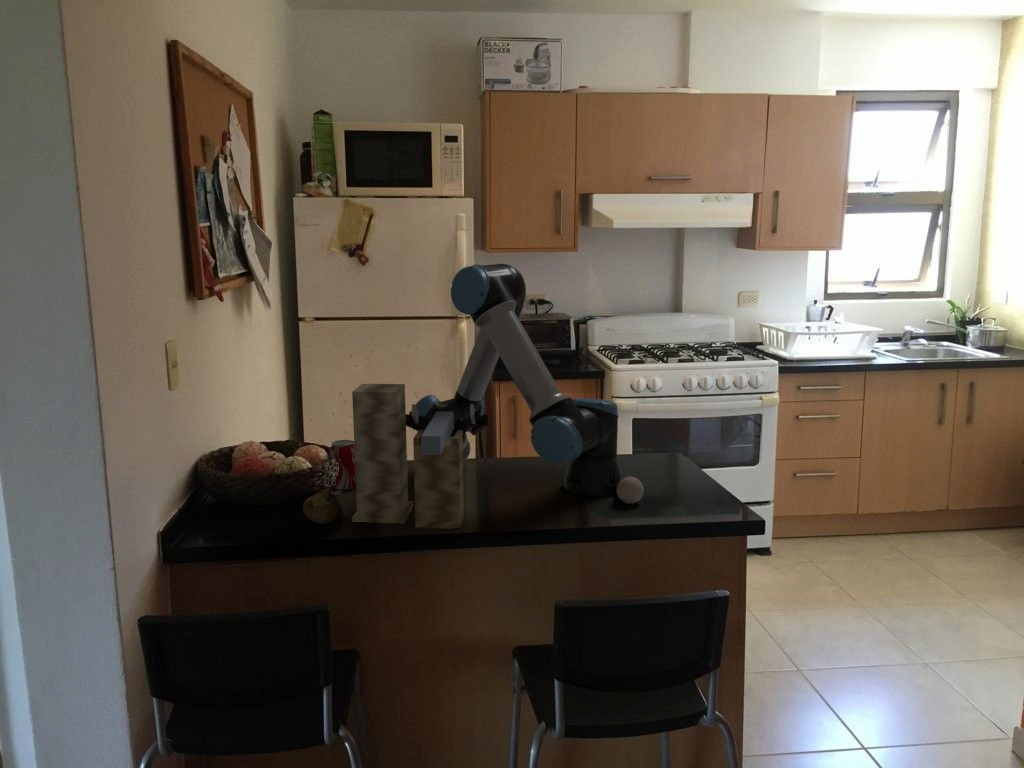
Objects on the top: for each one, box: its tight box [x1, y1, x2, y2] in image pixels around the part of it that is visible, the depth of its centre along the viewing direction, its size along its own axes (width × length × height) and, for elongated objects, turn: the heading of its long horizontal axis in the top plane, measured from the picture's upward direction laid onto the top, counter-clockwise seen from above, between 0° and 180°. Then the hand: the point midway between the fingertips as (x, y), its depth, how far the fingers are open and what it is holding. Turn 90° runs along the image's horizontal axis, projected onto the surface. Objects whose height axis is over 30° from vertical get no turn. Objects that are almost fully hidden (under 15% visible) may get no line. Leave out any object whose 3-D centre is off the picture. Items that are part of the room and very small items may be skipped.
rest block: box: [412, 430, 465, 529], centre depth 187 cm, size 10×8×20 cm
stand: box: [351, 383, 414, 524], centre depth 192 cm, size 12×12×30 cm
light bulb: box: [616, 476, 645, 505], centre depth 204 cm, size 7×7×11 cm
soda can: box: [329, 439, 356, 492], centre depth 214 cm, size 7×7×12 cm
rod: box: [421, 412, 454, 455], centre depth 185 cm, size 4×24×4 cm, turn 177°
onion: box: [302, 488, 342, 525], centre depth 189 cm, size 8×8×8 cm
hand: (442, 409), depth 193 cm, fingers open, 13 cm apart
